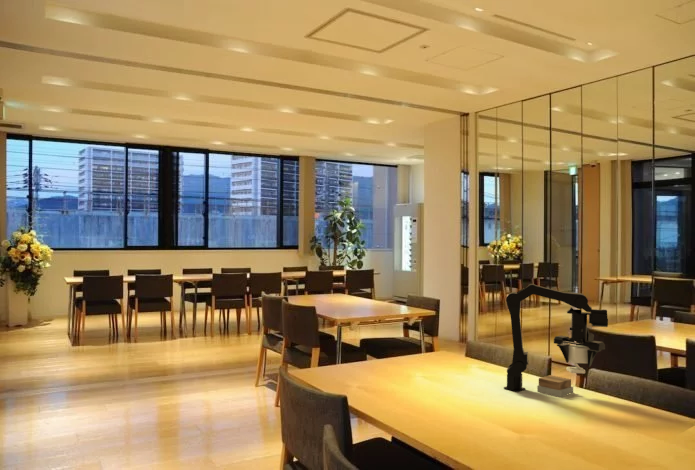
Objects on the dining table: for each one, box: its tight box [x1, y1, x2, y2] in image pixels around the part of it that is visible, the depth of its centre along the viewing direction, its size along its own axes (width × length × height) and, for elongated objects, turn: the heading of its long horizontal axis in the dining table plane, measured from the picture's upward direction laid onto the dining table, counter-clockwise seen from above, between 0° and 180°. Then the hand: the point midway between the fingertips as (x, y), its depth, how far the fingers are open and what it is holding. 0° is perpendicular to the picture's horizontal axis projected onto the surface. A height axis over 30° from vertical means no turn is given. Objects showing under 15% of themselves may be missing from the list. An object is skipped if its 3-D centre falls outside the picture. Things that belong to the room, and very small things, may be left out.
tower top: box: [538, 374, 572, 390], centre depth 231 cm, size 9×9×3 cm
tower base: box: [536, 385, 574, 398], centre depth 230 cm, size 10×10×3 cm
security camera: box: [566, 344, 590, 374], centre depth 227 cm, size 6×7×10 cm
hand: (578, 364), depth 227 cm, fingers closed on security camera, 9 cm apart
